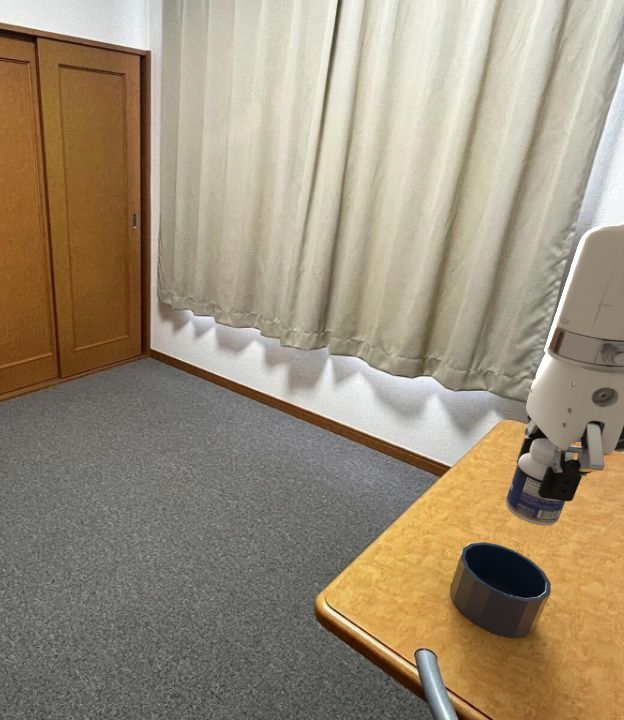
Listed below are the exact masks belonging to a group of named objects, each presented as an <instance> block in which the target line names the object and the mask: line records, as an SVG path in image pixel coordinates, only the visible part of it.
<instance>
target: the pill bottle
mask: <svg viewBox="0 0 624 720" xmlns="http://www.w3.org/2000/svg"><path fill="white" fill-rule="evenodd" d="M554 451H555V445H554V444H553V443H552V442H551V441H550V440H549V439H543V438H541V439H535V440H534V441H533V442H532V445H531V447H530V453H526V454H524V455H522V456H521V457H520V459H519V461H518V464H517V463H516V467H515V471H514V473H513V477H512V479H511V483H510V486H509V489H508V492H507V495H506V498H505V506H506V508H507V510H508V511H509V512H510V513H511V514H512V515H514V516H515V517H517V518H518V519H520V520H522V521H524V522H527V523H530V524H533V525H537V526H546V527H547V526H548V527H549V526H552V525H555V524H556V523H558V522H559V519H560V517H561V514H562V512H563V509H564V506H565V504H566V501H561V500H554V499H547V498H541V497H540V495H539V494H538V491H539V488H540V485H541V483H542V480H543V477H544V475H545V472H546V469H547V467H552V465H553V458H554ZM575 457H576V453H571V452H566V457H565V461H568V460H571V459H574V460H575Z"/></svg>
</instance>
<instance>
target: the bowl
mask: <svg viewBox="0 0 624 720" xmlns="http://www.w3.org/2000/svg"><path fill="white" fill-rule="evenodd" d="M459 555H460V556H459V559H458V562H457V564H456V567H455V571H454V574H453V577H452V581H451V583H450V587H449V594H450V598H451V600H452V602H453V604H454V606H455V607H456V608H457V610H458V611H459V612H460V613H461V615H463V616H464V617H465V618H466V619H467V620H469V621H470V622H471V623H473V624H474V625H476V626H478V627H479V628H481V629H482V630H485V631H487V632H488V633H491V634H494V635H497V636H499V637H504V638H510V639H518V638H525V637H527V636H529V635H531V634H532V632H534V631H535V630H534V629H535V628H536V627H537V625H538V623H539V620H540V618H541V617H542V614H543V612H544V609H545V607H546V605H547V603H548V600H549V598H550V596H551V591H552V583H551V582H550V580H549V577H548V576H547V575H546V573H545V571H544V570H542V568H540V566H539V565H537V564H536V563H535V562H534V561H533V560H532V559H530V558H528V557H527V556H525V555H523V554H522V553H520V552H518V551H516V550H514V549H512V548H510V547H506V546H503V545H501V544H497V543H492V542H486V541H481V542H470V543H468V544H467V545H465V546H464V547H463V548H462V549H461V552H460V554H459Z"/></svg>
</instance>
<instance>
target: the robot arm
mask: <svg viewBox="0 0 624 720" xmlns="http://www.w3.org/2000/svg"><path fill="white" fill-rule="evenodd" d="M544 352H545V354H544V356H543V358H542V359H541V360H542V361H541V362H540V365H539V367H538V369H537V372H536V374H535V377H534V379H533V382H532V385H531V387H530V391H529V394H528V397H527V400H526V406H525V411H526V413H527V416H526V418H527V421H528V424H527V426H526V427H525V429H524V438H523V442H522V444H521V447H520V450H519V453H518V456H517V459H516V465H517V464H518V461H519V459H520V457H521V456H522V455H524V454H526V453H530V447H531V445H532V442H533V441H534V440H535V439H541V438H543V439H549V440H550V441H551V442H552V443H553V444H554V445H555V451H554V458H553V465H552V467H547V469H546V472H545V475H544V477H543V480H542V483H541V485H540V488H539V491H538V494H539V495H540V497H541V498H547V499H554V500H561V501H565V502H572V501H573V500H574V497H575V495H576V493H577V490H578V488H579V485H580V484H581V480H582V478H583V477H587V475H588V474H591V473H593V472H599V471H603V470H604V469H605V456H608V457H609V456H611V455H612V454H613V452H615V449H616V448H617V446H618V442H619V439H620V437H621V435H622V432H623V428H624V220H623V221H622V222H620V223H619V224H611V225H599V226H597V227H593V228H592V229H589V230H588V231H586V232H585V233H584V234H583V236H582V237H581V239H580V241H579V243H578V246H577V248H576V252H575V255H574V257H573V261H572V263H571V267H570V271H569V273H568V276H567V280H566V282H565V286H564V289H563V291H562V295H561V298H560V301H559V304H558V307H557V310H556V312H555V316H554V319H553V322H552V325H551V328H550V331H549V334H548V338H547V340H546V344H545V347H544ZM576 443H580V446H579V445H572V444H576ZM566 452H571V453H575V454H577V456H576V459H575V458H574V459H571V460H568V461H565V457H566Z"/></svg>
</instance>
